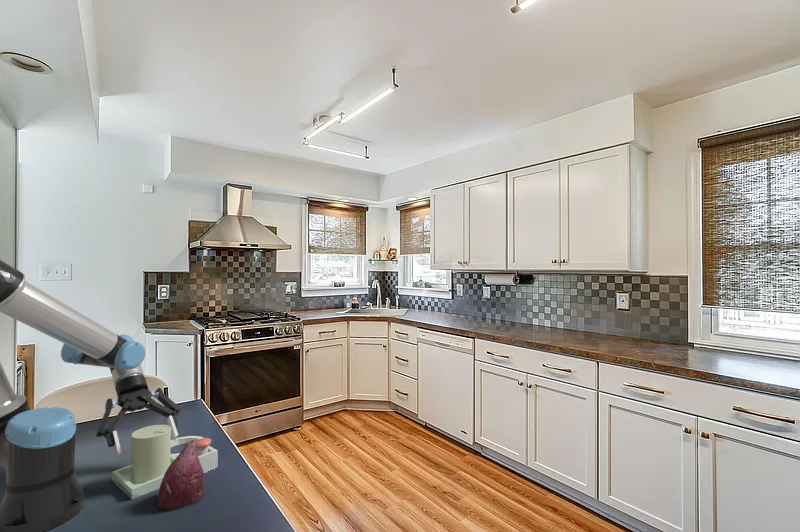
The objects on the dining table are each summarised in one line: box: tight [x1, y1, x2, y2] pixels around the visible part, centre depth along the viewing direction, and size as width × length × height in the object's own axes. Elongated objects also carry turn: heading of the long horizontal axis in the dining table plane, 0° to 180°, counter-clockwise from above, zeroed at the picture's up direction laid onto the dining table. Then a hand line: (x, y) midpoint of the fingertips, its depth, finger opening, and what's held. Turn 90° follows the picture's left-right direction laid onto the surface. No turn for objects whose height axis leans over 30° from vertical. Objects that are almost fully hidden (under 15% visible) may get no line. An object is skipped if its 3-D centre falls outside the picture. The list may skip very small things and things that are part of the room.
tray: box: [111, 452, 177, 500], centre depth 105 cm, size 14×14×2 cm
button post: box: [198, 445, 219, 474], centre depth 110 cm, size 6×6×5 cm
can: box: [130, 424, 172, 483], centre depth 105 cm, size 9×9×12 cm
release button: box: [194, 437, 212, 456], centre depth 110 cm, size 5×5×6 cm
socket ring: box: [170, 435, 204, 457], centre depth 121 cm, size 14×14×2 cm
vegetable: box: [157, 439, 206, 510], centre depth 98 cm, size 10×10×15 cm
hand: (148, 446), depth 106 cm, fingers open, 13 cm apart
